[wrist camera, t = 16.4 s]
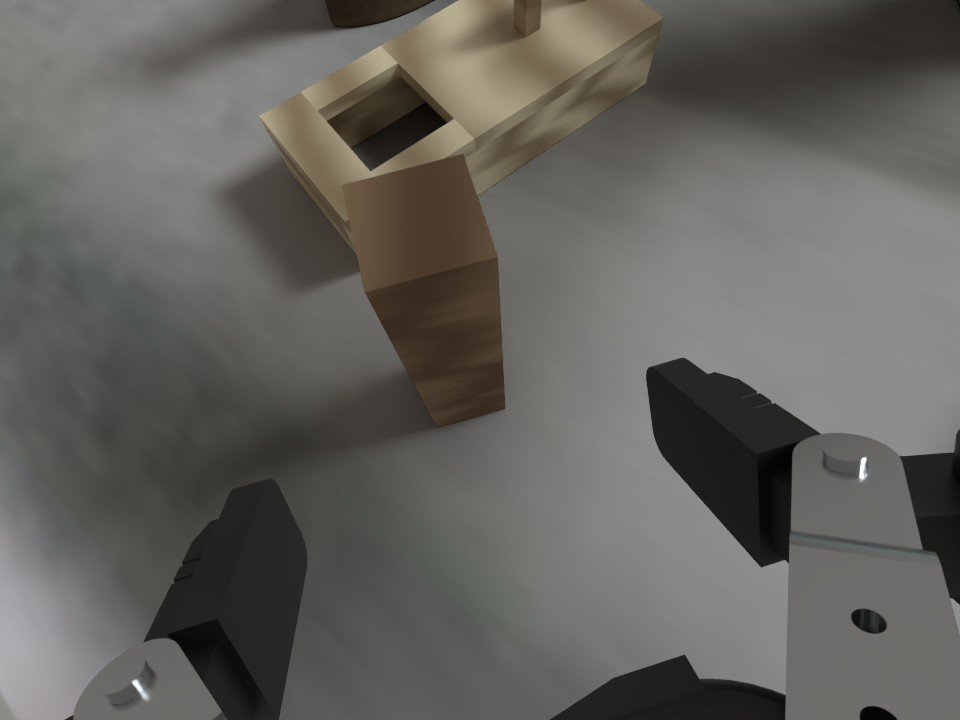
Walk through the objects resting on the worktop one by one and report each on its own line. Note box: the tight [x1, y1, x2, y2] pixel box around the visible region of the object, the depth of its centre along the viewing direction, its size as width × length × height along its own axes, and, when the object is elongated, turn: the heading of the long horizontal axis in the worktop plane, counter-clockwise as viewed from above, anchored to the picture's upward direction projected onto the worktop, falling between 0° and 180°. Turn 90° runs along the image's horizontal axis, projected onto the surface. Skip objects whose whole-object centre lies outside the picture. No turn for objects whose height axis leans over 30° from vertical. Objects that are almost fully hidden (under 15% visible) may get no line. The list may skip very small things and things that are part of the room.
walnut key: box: [341, 154, 505, 428], centre depth 24 cm, size 4×4×16 cm
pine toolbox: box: [259, 0, 663, 255], centre depth 34 cm, size 24×10×10 cm, turn 127°
